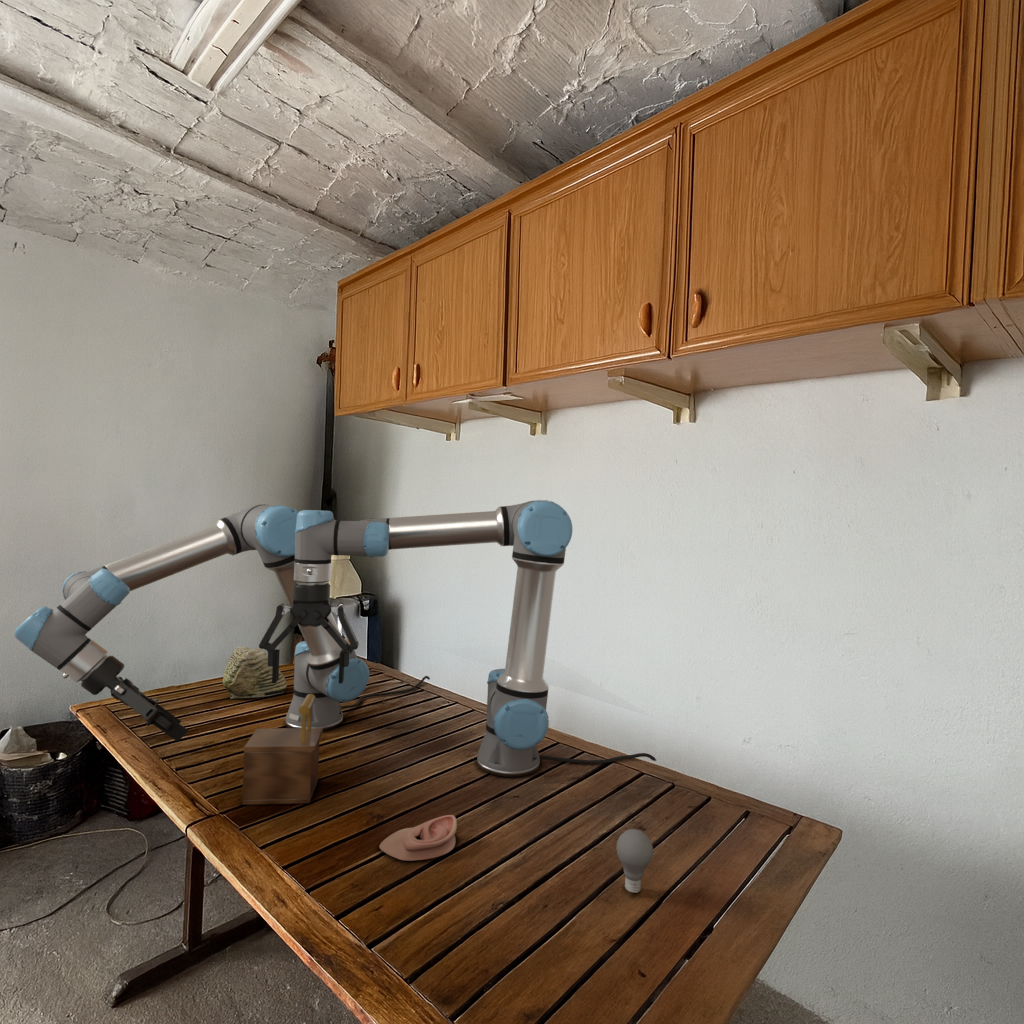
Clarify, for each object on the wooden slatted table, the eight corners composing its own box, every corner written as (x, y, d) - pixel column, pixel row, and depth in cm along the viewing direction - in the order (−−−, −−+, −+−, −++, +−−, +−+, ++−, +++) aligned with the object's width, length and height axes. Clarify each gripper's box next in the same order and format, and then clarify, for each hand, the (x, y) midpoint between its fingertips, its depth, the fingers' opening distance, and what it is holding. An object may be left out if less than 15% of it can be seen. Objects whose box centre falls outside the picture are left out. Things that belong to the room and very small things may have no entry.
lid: (322, 732, 141) (324, 691, 141) (314, 751, 131) (316, 707, 131) (256, 733, 139) (258, 691, 139) (243, 752, 129) (245, 707, 129)
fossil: (218, 695, 195) (220, 647, 195) (278, 685, 208) (279, 640, 207) (228, 703, 189) (230, 653, 188) (289, 692, 201) (290, 645, 201)
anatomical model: (372, 833, 112) (397, 803, 124) (372, 855, 112) (396, 824, 124) (444, 845, 110) (462, 813, 121) (443, 867, 110) (462, 834, 121)
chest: (317, 780, 141) (319, 732, 141) (309, 803, 131) (311, 751, 131) (255, 782, 139) (256, 733, 139) (241, 804, 129) (243, 752, 129)
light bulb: (610, 879, 108) (613, 822, 108) (644, 879, 109) (647, 822, 109) (619, 902, 102) (622, 840, 102) (655, 901, 103) (658, 840, 103)
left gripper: (80, 679, 136) (160, 737, 143) (76, 690, 115) (170, 757, 122) (109, 650, 140) (186, 708, 146) (110, 656, 119) (200, 724, 125)
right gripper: (245, 583, 129) (242, 686, 130) (370, 586, 133) (366, 686, 133) (255, 578, 137) (251, 676, 137) (373, 581, 140) (369, 676, 141)
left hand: (179, 731), depth 134 cm, fingers open, 13 cm apart
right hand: (308, 681), depth 135 cm, fingers open, 13 cm apart
